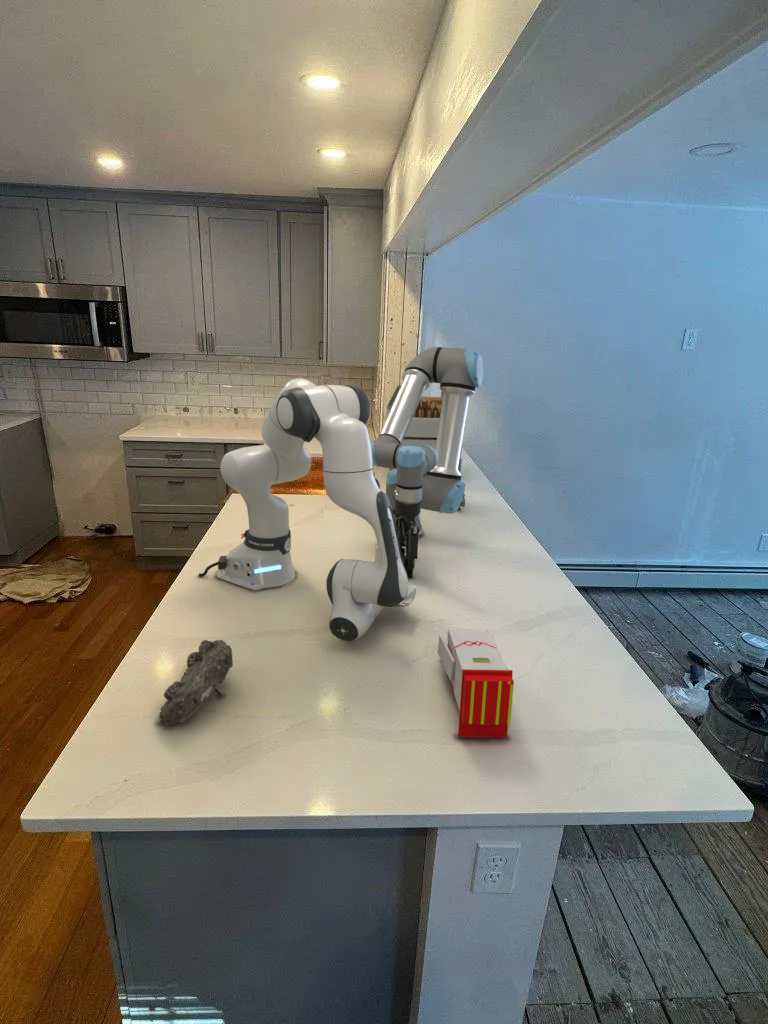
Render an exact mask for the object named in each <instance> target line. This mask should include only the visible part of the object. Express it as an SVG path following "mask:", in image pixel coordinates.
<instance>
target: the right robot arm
mask: <svg viewBox="0 0 768 1024" xmlns="http://www.w3.org/2000/svg"><path fill="white" fill-rule="evenodd" d="M401 375H402V376H401V379H402V383H401V385H400V386H401V387H400V389H399V392H398V394H397V396H396V398H395V401H394V403H393V405H392V408H391V410H390V412H389V414H388V417H387V419H386V418H385V421H384V423H383V426H382V428H381V430H380V432H379V435H378V437H377V438H376V440H375V439H373V440H372V439H370V443H371V449H372V458H373V465H374V466H373V467H377V468H379V467H381V468H387V469H390V468H394V469H393V470H391V471H390V470H389V471H388V473H387V475H386V482H385V494H386V495H387V496H388V498H389V501H390V504H391V507H392V511H393V515H394V520H395V525H396V530H397V535H398V540H399V545H400V550H401V555H406V557H405V558H404V566H405V569H406V572H407V576H408V580H410V579H413V575H414V568H413V563H414V560H415V561H416V560H418V558H419V557H418V555H419V538H420V537H421V536H422V535H423V525H422V524H421V518H420V515H421V513H422V512H421V511H422V510H424V511H425V510H426V511H430V512H438V513H440V514H449V515H450V514H451V515H452V514H454V513H456V512H457V511H458V510H459V509H458V508H459V506H460V504H461V502H462V499H463V496H464V494H465V491H466V481H464V480H463V479H462V473H460V472H459V471H458V465H459V459H460V452H461V446H462V447H463V443H462V441H464V440H463V439H464V433H465V426H466V420H467V415H468V408H469V401H470V398H471V397H472V396H473V395H474V394H475V392H476V388H480V387H481V386H482V384H483V380H484V379H483V378H484V363H483V356H482V355H481V352H480V351H479V350H476V349H471V348H461V347H445V346H444V347H443V346H431V347H428V348H426V349H424V350H423V351H421V352H419V353H417V355H415V356H414V357H413V358H412V359H411V360H410V361H409V362H408V364H407V366H406V367H405V368H404V370H403V373H402V374H401ZM434 383H435V384H439V390H440V391H441V392H443V400H442V407H441V413H440V420H439V426H438V433H437V439H436V446H435V448H433V447H432V446H429V445H425V446H421V447H418V446H407V445H401V443H402V441H403V439H404V436H405V434H406V432H407V429H408V427H409V425H410V422H411V420H412V418H413V415H414V413H415V411H416V408H417V406H418V404H419V401H420V399H421V397H423V394H424V392H425V391H426V390H428V389H429V387H430V386H431V384H434ZM460 507H461V506H460Z"/></svg>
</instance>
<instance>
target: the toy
mask: <svg viewBox="0 0 768 1024" xmlns="http://www.w3.org/2000/svg"><path fill="white" fill-rule="evenodd" d="M446 640H447V643H446V641H445V639H444V636H443V635H442V634H439V637H438V646H437V656H438V657H439V659H440V661H441V663H442V666H443V668H444V670H445V672H446V674H447V677H448V679H449V681H450V684H451V687H452V690H453V693H454V697H455V701H456V705H457V708H458V711H459V714H458V715H459V716H458V730H457V731H458V732H457V737H458V738H508V731H509V726H510V725H511V717H512V707H513V697H514V696H513V695H514V684H515V680H514V679H513V673H514V671H513V670H512V669H508V667H507V665H506V662H505V661H504V659H503V658H502V655H501V653H500V651H499V649H498V647H497V643H496V639H495V637H494V635H493V634H491V632H490V631H489V629H467V628H466V629H465V628H463V629H461V628H460V629H459V628H448V630H447V639H446Z"/></svg>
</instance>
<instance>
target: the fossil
mask: <svg viewBox="0 0 768 1024" xmlns="http://www.w3.org/2000/svg"><path fill="white" fill-rule="evenodd" d="M233 658H234V656H233V650H232V647H231V645H229V644H227V643H226V641H224V640H223V639H216V640H213V641H212V640H208V639H203V640H202V641H201V642H200V645H198V651H193V652H191V653H189V655H188V656H187V658H186V659H187V660H186V667H187V668H186V669H185V671H184V672H183V674H182V675H181V678H180V680H176V681H174V682H173V683H172V684H171V685H169V686H168V687H167V688H166V690H165V692H164V693H163V697H164V698H165V699H166V701H165V703H164V705H162V706H160V709H159V710H160V712H159V713H158V714H159V716H158V717H159V719H160V723H164V724H165V725H166V726H167V725H168V726H170V725H171V726H172V725H174V724H175V725H176V724H179V723H180V724H183V723H184V722H185V721H186V720H187V719H188V718H189V717H190V716H191V715H193V714H194V713H195V712H196V711H197V710H198V709H199V708H200V707H201V706H203V705H204V704H205V703H206V702H207V700H208V698H209V697H210V696H211V694H213V693H214V692H215V693H216V694H217V695H218V696H222V693H221V691H220V690H219V689H218V688H217V687H218V685H219V684H222V683H223V681H224V680H226V676H227V675H228V673H229V671H230V669H231V668H232V667H233V665H234V660H233Z"/></svg>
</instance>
